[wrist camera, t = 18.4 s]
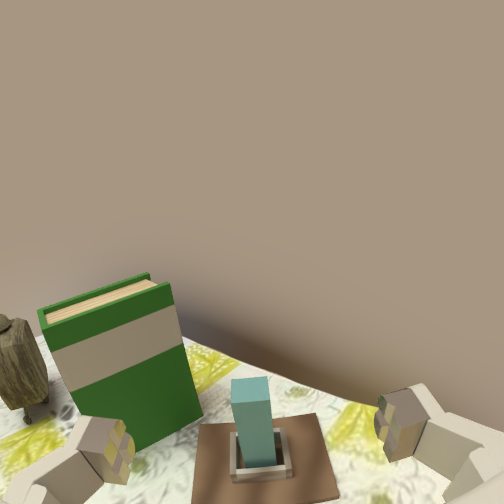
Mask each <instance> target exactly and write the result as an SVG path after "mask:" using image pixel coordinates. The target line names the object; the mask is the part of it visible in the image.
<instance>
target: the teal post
mask: <svg viewBox="0 0 504 504" xmlns="http://www.w3.org/2000/svg"><path fill="white" fill-rule="evenodd" d="M231 406H232V411H233V416H234V420H235V425H236V429H237V434H238V438H239V443H240V447H241V451H242V455H243V460H244V464H245V468H246V469H248V468H260V467H270V466H277V463H276V453H275V443H274V433H273V423H272V414H271V404H270V395H269V387H268V379H267V376H264V377H254V378H244V379H232V380H231Z"/></svg>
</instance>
